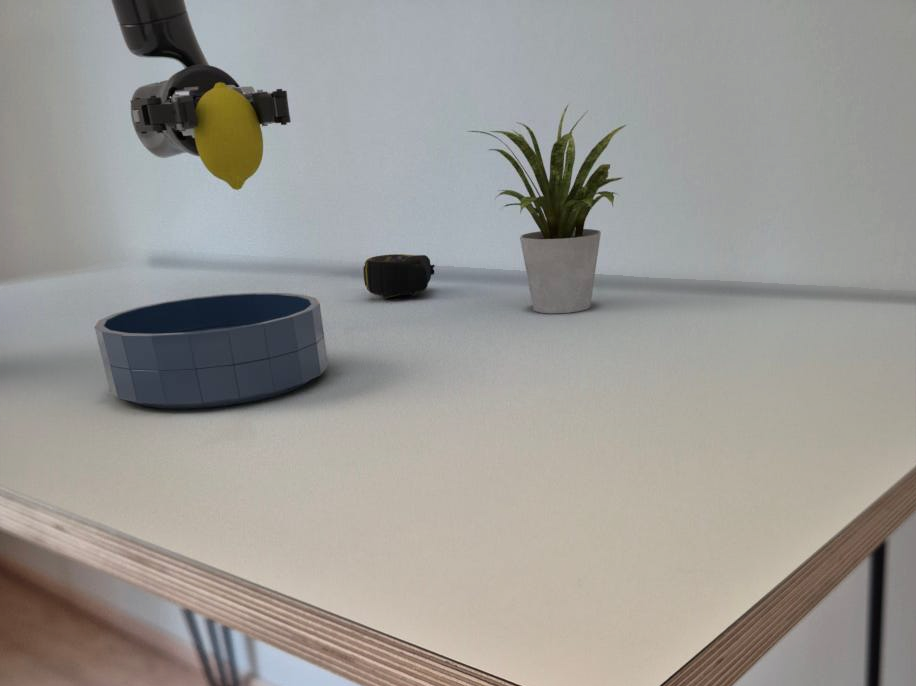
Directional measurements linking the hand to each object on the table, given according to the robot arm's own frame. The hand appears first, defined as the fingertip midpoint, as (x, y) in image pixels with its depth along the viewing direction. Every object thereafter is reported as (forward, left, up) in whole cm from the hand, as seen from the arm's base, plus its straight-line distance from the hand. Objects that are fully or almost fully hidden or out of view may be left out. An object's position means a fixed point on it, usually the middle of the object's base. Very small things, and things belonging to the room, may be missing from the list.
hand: (229, 109), depth 77 cm
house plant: (+23, -11, -18) cm, 31 cm away
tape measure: (+18, +7, -18) cm, 26 cm away
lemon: (0, +3, -6) cm, 7 cm away
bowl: (-9, -16, -17) cm, 25 cm away
